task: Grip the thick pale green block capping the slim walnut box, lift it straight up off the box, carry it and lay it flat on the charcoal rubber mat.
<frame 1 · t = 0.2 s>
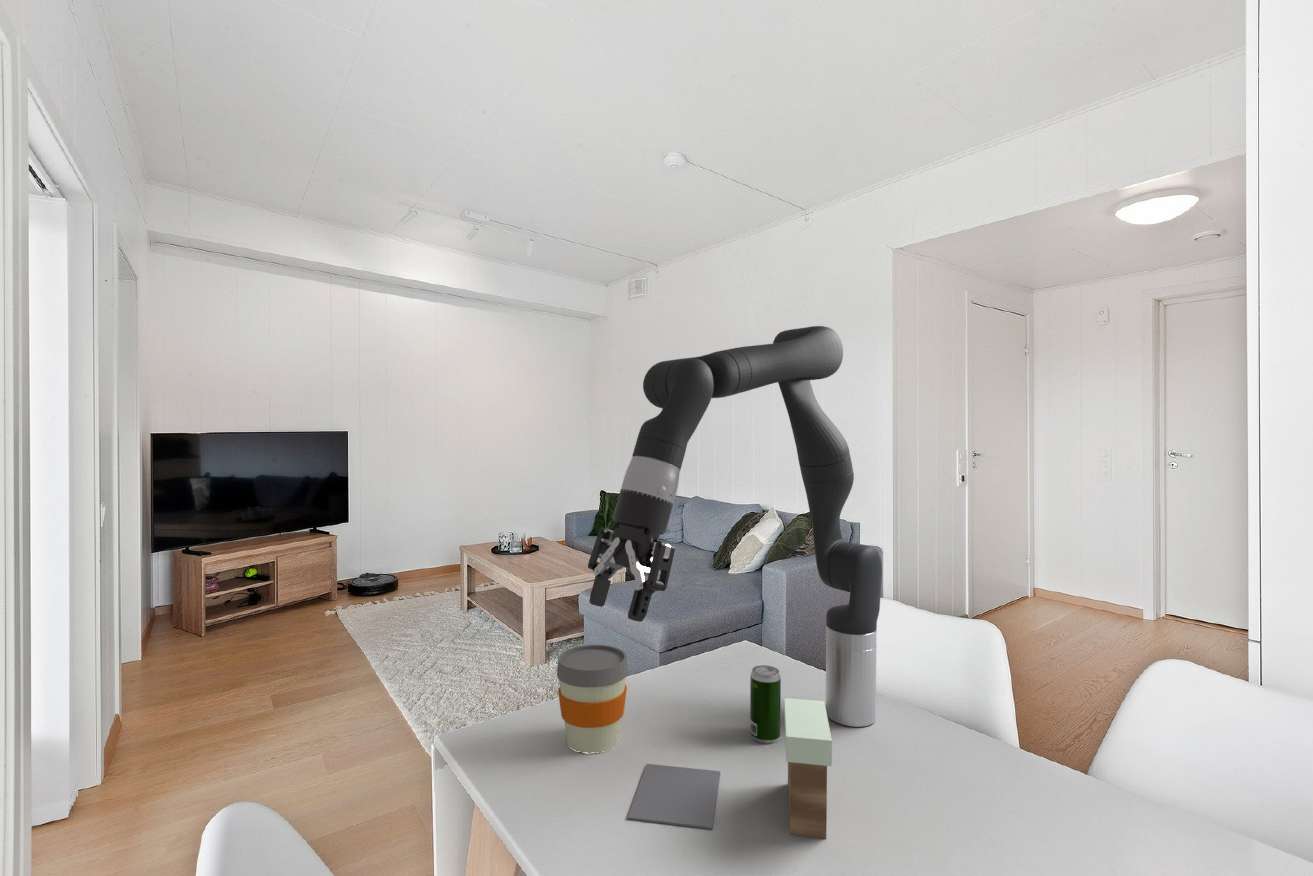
hand: (614, 612, 82), 31 cm above the table, tool tilted 20°, fingers open, 8 cm apart
reusable coffee cup: (592, 742, 110), on the table
pale green block: (806, 741, 90), point 10 cm above the table, touching box
beer can: (765, 738, 111), on the table
box: (805, 809, 90), on the table
mat: (676, 794, 94), on the table
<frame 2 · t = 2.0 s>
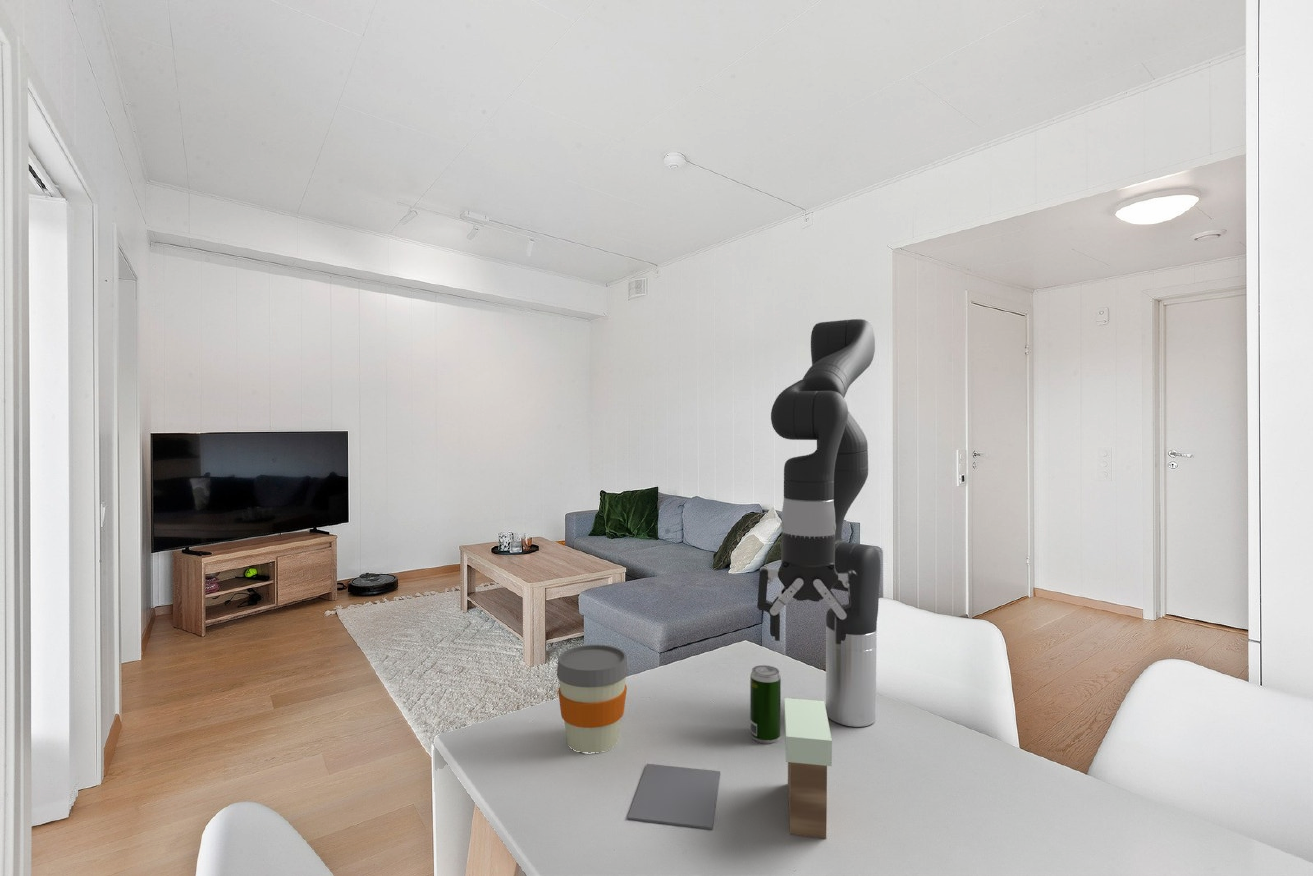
hand: (807, 641, 90), 25 cm above the table, tool pointing down, fingers open, 8 cm apart
nothing on the table moved.
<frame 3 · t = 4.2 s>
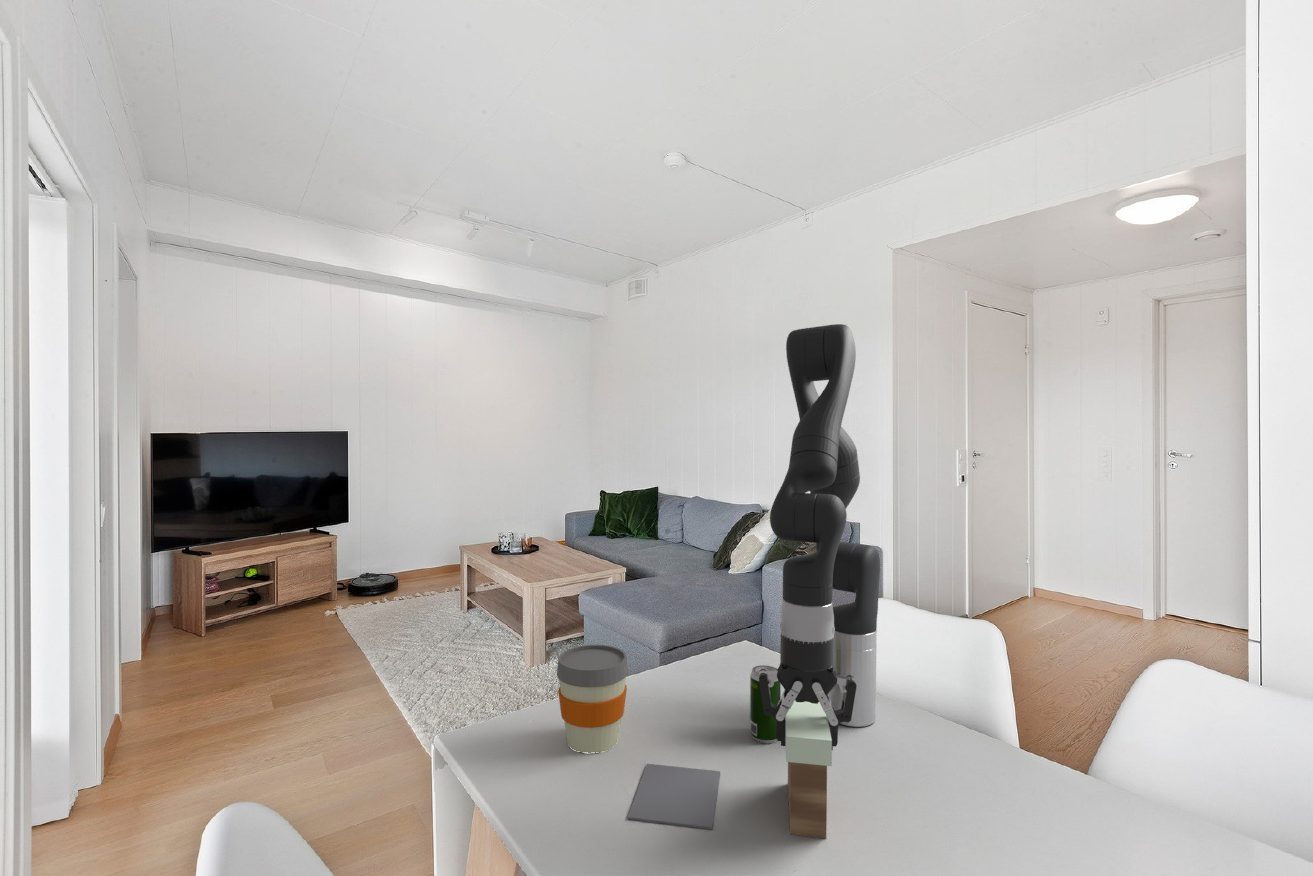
hand: (806, 745, 90), 9 cm above the table, tool pointing down, fingers closed on pale green block, 6 cm apart
pale green block: (806, 741, 90), point 10 cm above the table, touching box, gripper
everything else where it was.
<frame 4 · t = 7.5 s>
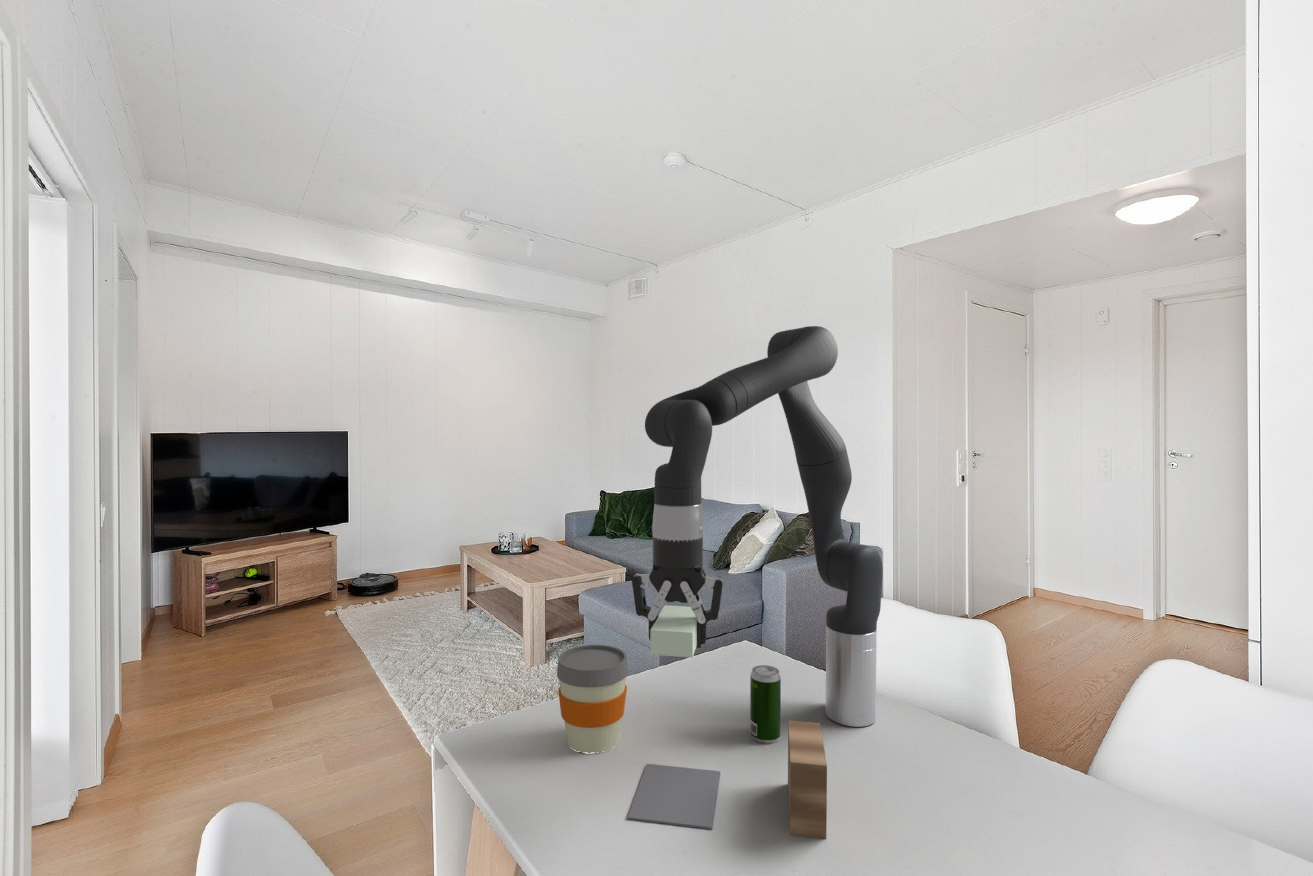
hand: (677, 644, 93), 23 cm above the table, tool pointing down, fingers closed on pale green block, 6 cm apart
pale green block: (677, 641, 93), point 23 cm above the table, touching gripper
everything else where it was.
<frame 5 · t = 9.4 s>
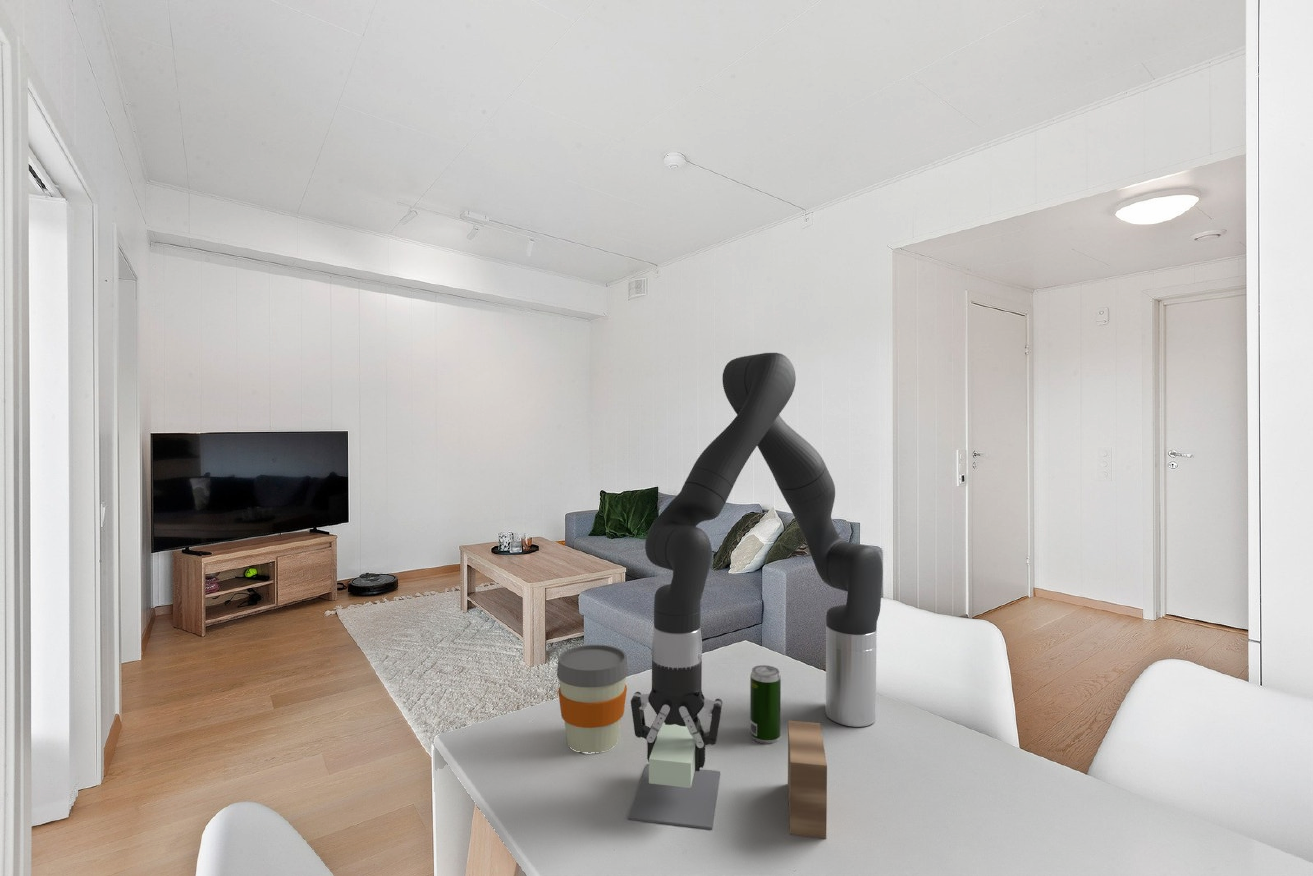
hand: (675, 766, 93), 4 cm above the table, tool pointing down, fingers closed on pale green block, 6 cm apart
pale green block: (676, 763, 93), point 5 cm above the table, touching gripper
everything else where it was.
when the fingers open (2 cm above the table, at t = 10.8 s): pale green block drops 2 cm, resting on mat.
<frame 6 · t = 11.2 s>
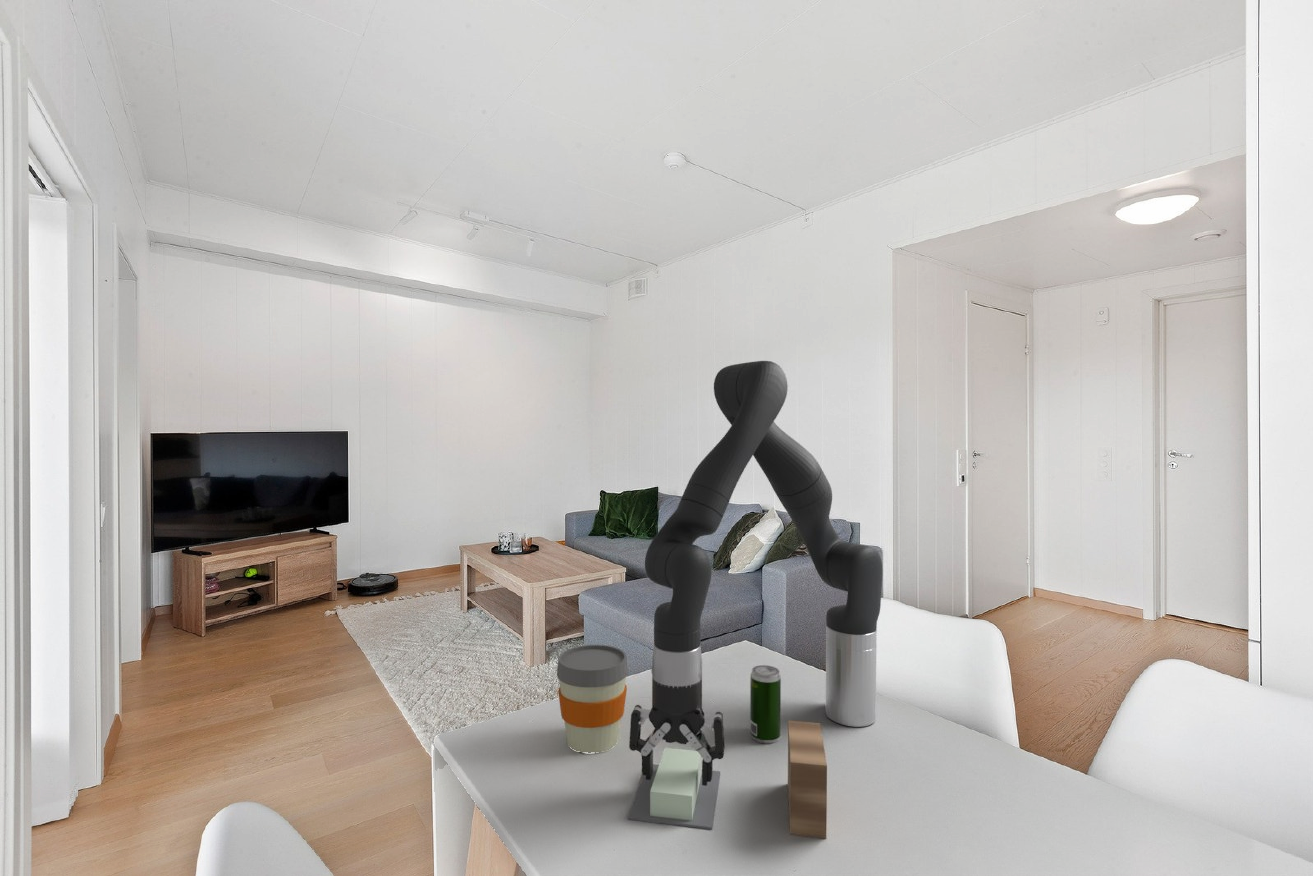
hand: (676, 779, 94), 2 cm above the table, tool pointing down, fingers open, 8 cm apart
pale green block: (677, 793, 94), resting on mat
everything else where it was.
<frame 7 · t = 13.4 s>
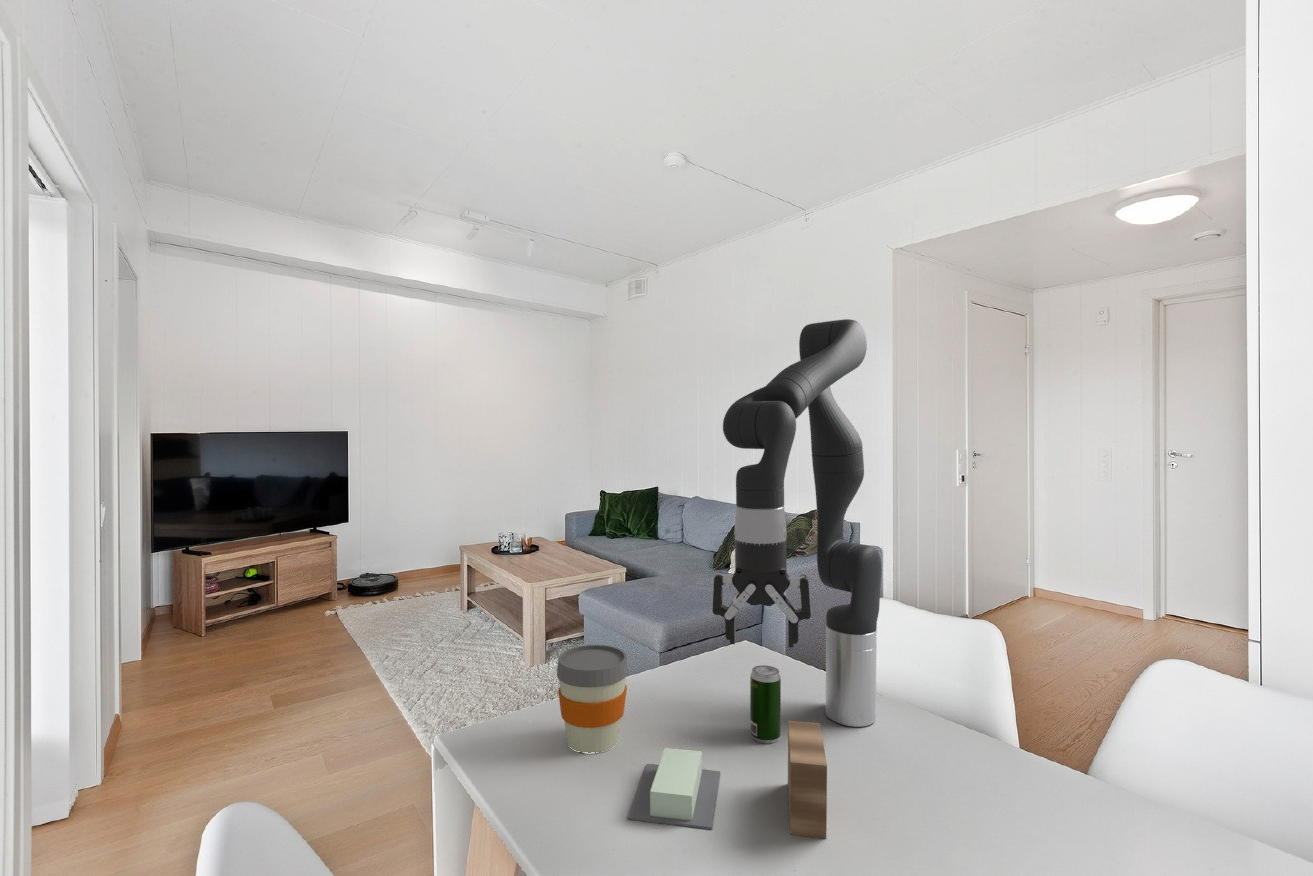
hand: (761, 644, 92), 23 cm above the table, tool pointing down, fingers open, 8 cm apart
nothing on the table moved.
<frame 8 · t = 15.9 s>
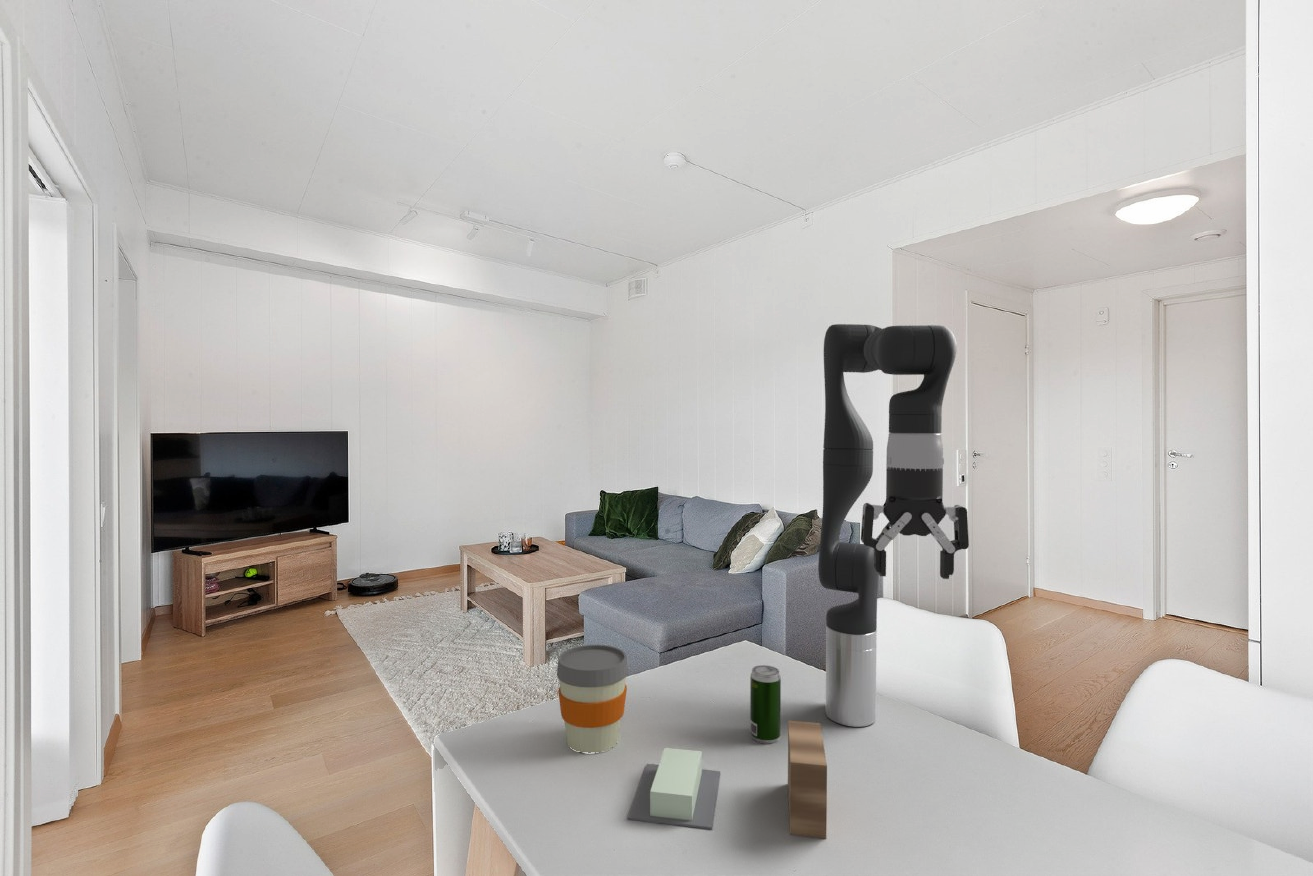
hand: (912, 576, 90), 34 cm above the table, tool pointing down, fingers open, 8 cm apart
nothing on the table moved.
at the end: pale green block inside the target area (0.1 cm from its centre), resting on mat; pale green block tilted 0°; the gripper is holding nothing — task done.
